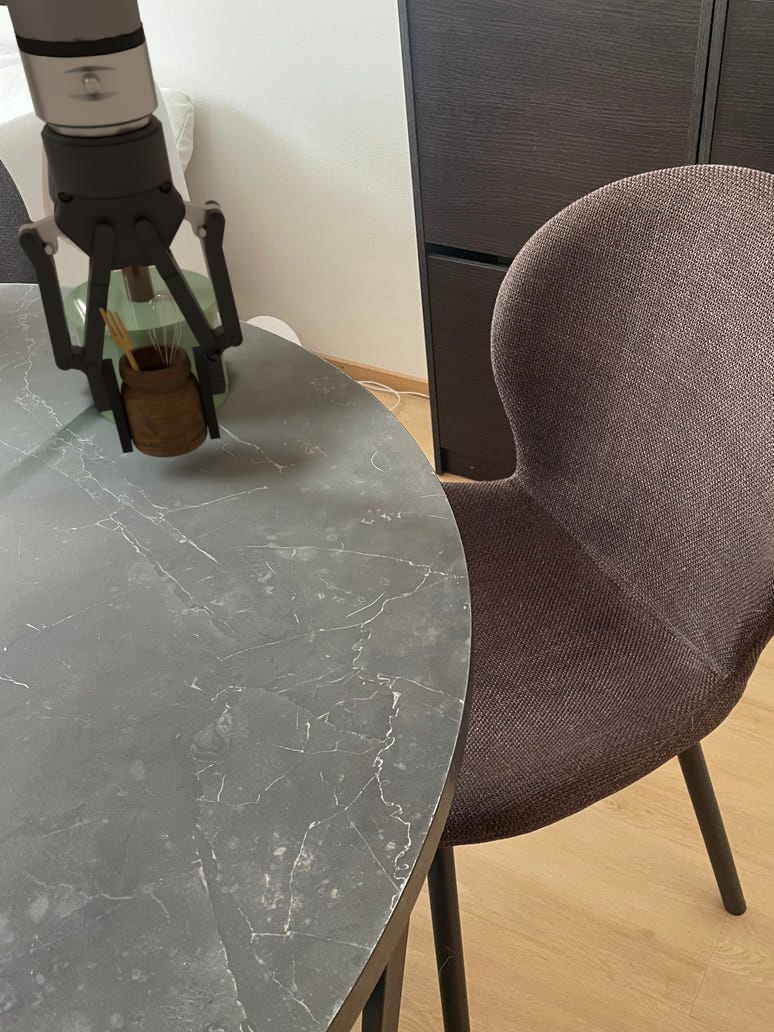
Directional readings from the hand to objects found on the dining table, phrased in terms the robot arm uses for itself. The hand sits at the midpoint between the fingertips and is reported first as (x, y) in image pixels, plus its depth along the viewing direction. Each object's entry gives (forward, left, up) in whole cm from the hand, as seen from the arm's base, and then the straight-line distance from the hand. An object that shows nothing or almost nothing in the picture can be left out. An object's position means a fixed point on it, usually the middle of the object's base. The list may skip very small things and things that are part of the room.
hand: (170, 436), depth 82 cm
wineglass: (-16, +17, -3) cm, 24 cm away
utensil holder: (0, 0, -1) cm, 1 cm away
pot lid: (-7, +9, +6) cm, 13 cm away
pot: (-7, +9, -3) cm, 12 cm away
